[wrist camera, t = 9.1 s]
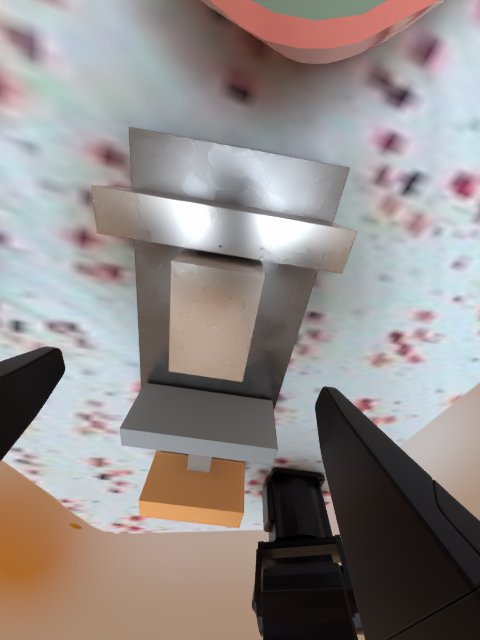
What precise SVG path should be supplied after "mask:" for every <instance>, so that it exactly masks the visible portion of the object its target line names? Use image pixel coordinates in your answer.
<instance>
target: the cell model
mask: <svg viewBox="0 0 480 640" xmlns="http://www.w3.org/2000/svg"><path fill="white" fill-rule="evenodd" d="M200 1H202V2H203V3H204V4H206V5H207V6H209V7H210V8H212V9H213V10H215V11H216V12H218V13H219V14H221V15H222V16H224V17H225V18H227V19H228V20H230V21H231V22H233V23H234V24H236V25H237V26H239V27H241V28H242V29H244V30H245V31H247V32H248V33H250V34H251V35H253V36H254V37H256V38H257V39H258V40H260V41H261V42H263V43H264V44H266V45H267V46H269V47H270V48H271V49H273V50H274V51H276V52H277V53H279V54H281V55H283V56H285V57H286V58H289V59H292V60H295V61H298V62H300V63H310V64H327V63H331V62H335V61H339V60H343V59H347V58H351V57H353V56H355V55H358V54H360V53H362V52H365V51H367V50H369V49H371V48H374V47H375V46H377V45H379V44H381V43H383V42H385V41H387V40H389V39H390V38H392V37H393V36H395V35H396V34H398V33H399V32H401V31H402V30H404V29H405V28H407V27H408V26H410V25H411V24H413V23H414V22H415V21H417V20H418V19H420V18H421V17H422V16H424V15H425V14H427V13H428V12H429V11H431V10H432V9H434V8H435V7H436V6H438V5H439V4H441V3H442V2H443V1H445V0H200Z"/></svg>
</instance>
